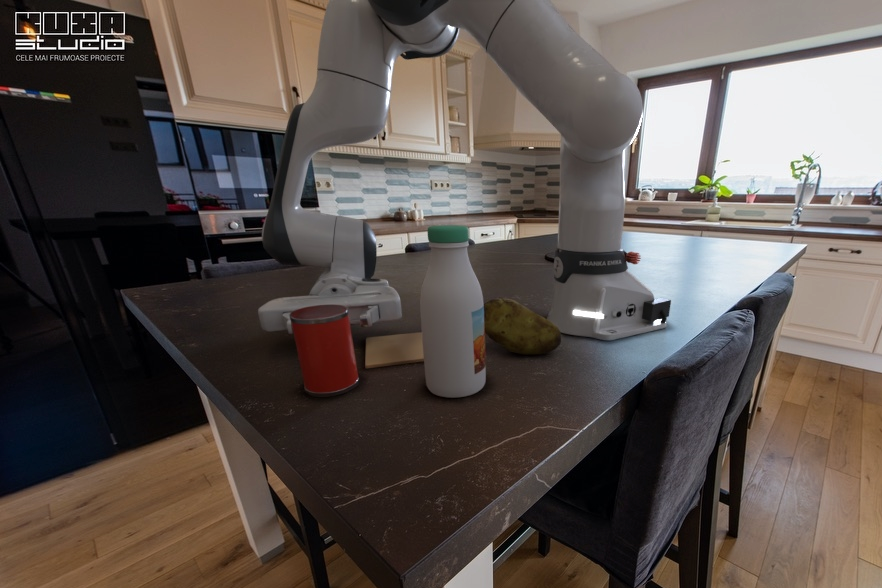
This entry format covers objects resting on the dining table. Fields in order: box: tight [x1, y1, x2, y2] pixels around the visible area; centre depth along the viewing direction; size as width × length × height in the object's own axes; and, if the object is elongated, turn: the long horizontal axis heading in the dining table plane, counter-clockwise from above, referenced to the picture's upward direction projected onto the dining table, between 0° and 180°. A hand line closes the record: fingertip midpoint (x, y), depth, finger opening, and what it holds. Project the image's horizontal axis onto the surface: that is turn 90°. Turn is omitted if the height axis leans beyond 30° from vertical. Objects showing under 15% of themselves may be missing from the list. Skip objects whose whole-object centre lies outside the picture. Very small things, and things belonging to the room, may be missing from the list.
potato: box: [483, 297, 562, 356], centre depth 62 cm, size 8×13×8 cm, turn 54°
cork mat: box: [364, 331, 424, 370], centre depth 63 cm, size 12×12×1 cm
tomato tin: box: [289, 304, 360, 398], centre depth 50 cm, size 6×6×10 cm
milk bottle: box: [419, 224, 487, 399], centre depth 48 cm, size 8×8×20 cm
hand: (330, 324), depth 56 cm, fingers open, 8 cm apart
